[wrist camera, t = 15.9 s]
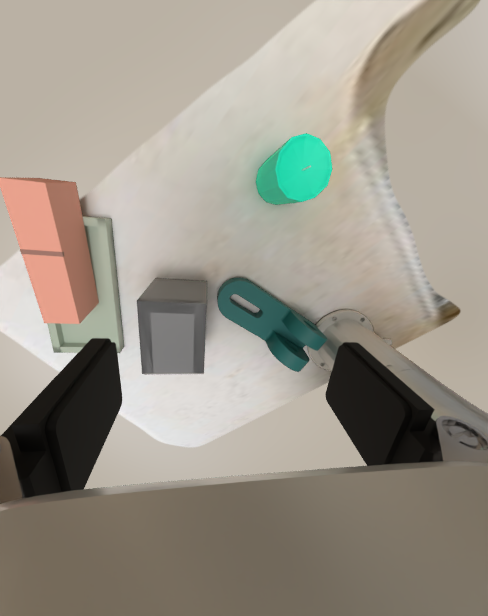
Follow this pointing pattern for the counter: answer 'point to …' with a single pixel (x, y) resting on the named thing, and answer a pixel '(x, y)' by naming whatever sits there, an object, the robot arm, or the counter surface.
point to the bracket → (271, 322)
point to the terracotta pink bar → (53, 246)
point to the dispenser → (172, 326)
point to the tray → (107, 311)
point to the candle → (295, 171)
